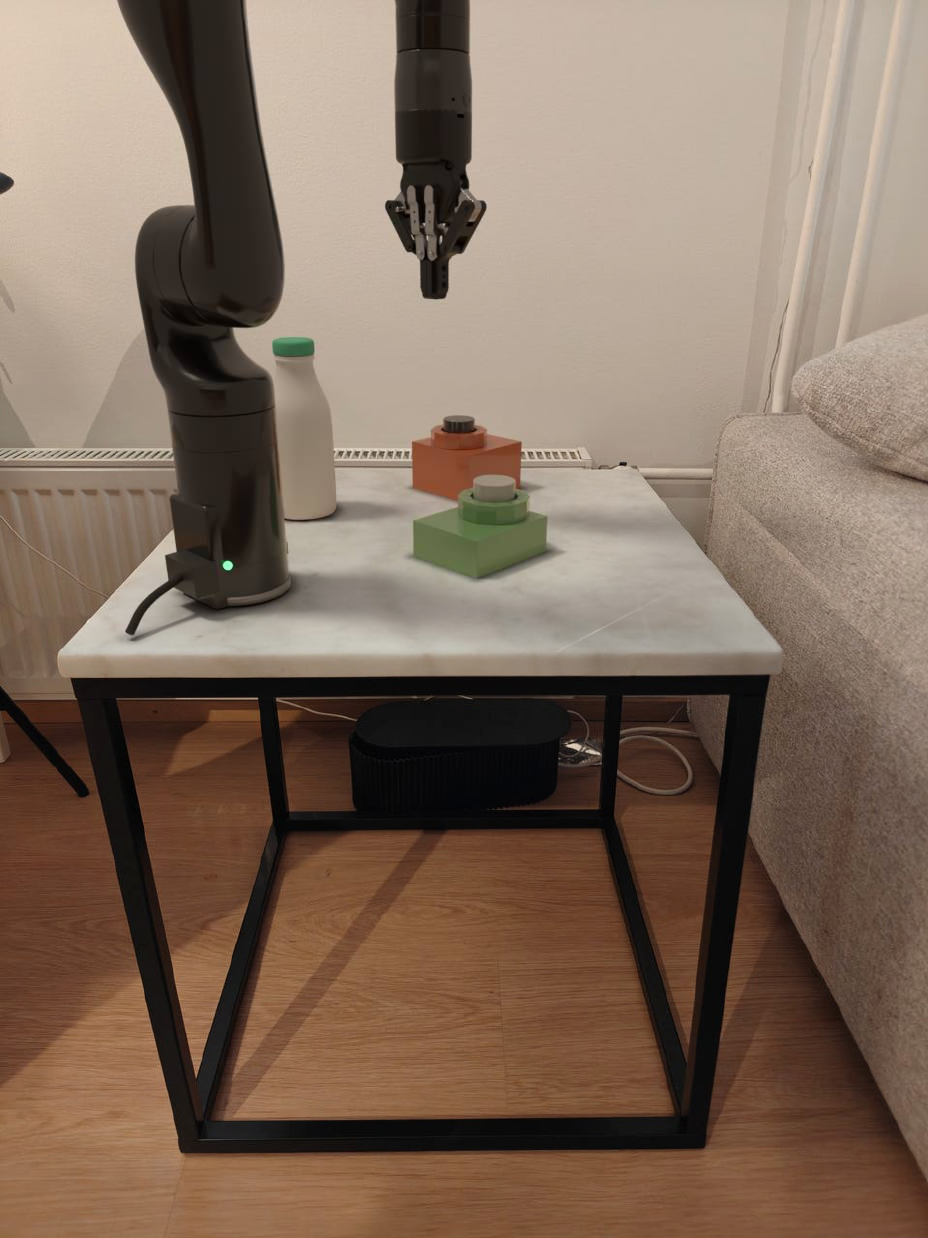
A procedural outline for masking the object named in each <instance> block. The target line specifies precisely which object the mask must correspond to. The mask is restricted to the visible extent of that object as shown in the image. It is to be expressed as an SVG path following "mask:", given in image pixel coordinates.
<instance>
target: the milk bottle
mask: <svg viewBox="0 0 928 1238" xmlns="http://www.w3.org/2000/svg"><path fill="white" fill-rule="evenodd" d="M271 346H272V347H271V348H272V354H273V358H272V359H273V361H275V372H274V378H273V383H274V391H275V405H276V418H277V430H278V444H279V456H280V469H281V481H282V493H283V505H284V518H285V519H287V520H294V521H295V520H297V521H302V520H316V519H322V518H324V517H328V516H330V515H332V514H334V512H335V511H336V509H337V485H336V484H337V483H336V466H335V463H336V462H335V448H334V431H333V420H332V414H331V412H332V411H331V407H330V404H329V401H328V398H327V396H326V394H325V392H324V390H323V388H322V385H321V384H320V381H319V379H318V377H317V374H316V371H315V368H314V367H315V366H314V360H315V359H316V357H315V341H314V339H312V338H310V337H305V336H304V337H303V336H286V337H277V338H275V339H272V343H271Z"/></svg>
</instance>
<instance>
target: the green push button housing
mask: <svg viewBox="0 0 928 1238" xmlns="http://www.w3.org/2000/svg"><path fill="white" fill-rule="evenodd" d="M530 504H531V495H530V494H528V493H527V492H526V491H524V490H522V489H520V488H518V489H515V500H512V501H509V502H501V503H490V502H481V501H478V500H474V499H473V488H470V489H467V490H463V491H462V492H461V493H460V494H459V495H458V501H457V506H455V507H451V508H449V509H446V510H442V511H439V512H436V513H433V514H430V515H427V516H423V517H419V518H417V519H414V520H412V535H413V536H412V541H413V542H412V544H413V547H412V548H413V557H414V558H417V559H420V560H423V561H426V562H429V563H431V564H434V565H437V566H439V567H442V568H445V569H448V570H450V571H453V572H456V573H459V574H462V575H465V576H468V577H471V578H473V579H476V580H477V579H479V578H482V577H485V576H487V575H489V574H492V573H495V572H498V571H500V570H502V569H505V568H508V567H510V566H512V565H515V564H517V563H520V562H523V561H525V560H528V559H531V558H533V557H536V556H538V555H540V554H543V553H545V552H546V551H547V537H548V536H547V535H548V518H549V517H548V515H545V514H541V513H538V512H534V511H532V510H530V508H531V507H530Z"/></svg>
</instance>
